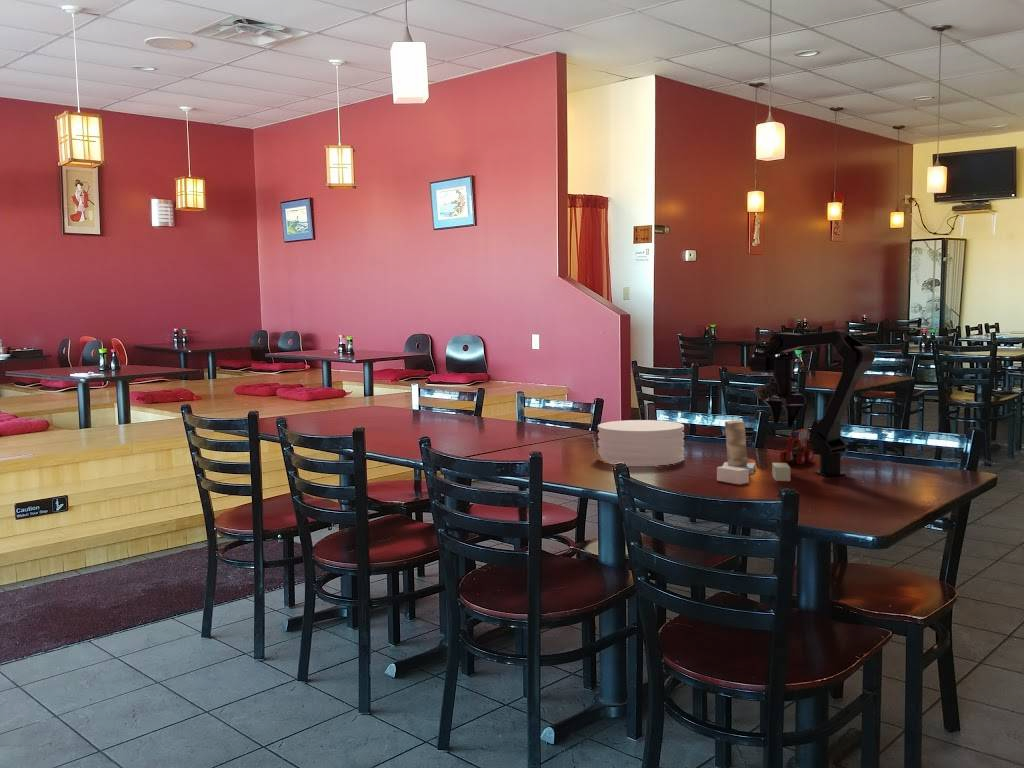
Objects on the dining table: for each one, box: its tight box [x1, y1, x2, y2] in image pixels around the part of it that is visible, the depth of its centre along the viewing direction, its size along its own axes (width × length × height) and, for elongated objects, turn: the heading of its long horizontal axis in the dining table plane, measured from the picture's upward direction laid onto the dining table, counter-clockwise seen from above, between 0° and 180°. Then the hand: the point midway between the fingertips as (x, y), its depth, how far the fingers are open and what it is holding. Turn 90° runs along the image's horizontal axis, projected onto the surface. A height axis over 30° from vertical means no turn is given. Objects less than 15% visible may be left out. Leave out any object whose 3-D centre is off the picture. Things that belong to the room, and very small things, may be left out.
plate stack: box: [597, 419, 685, 467], centre depth 290 cm, size 28×28×12 cm
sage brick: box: [771, 462, 791, 482], centre depth 253 cm, size 8×4×4 cm, turn 171°
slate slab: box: [722, 461, 756, 475], centre depth 266 cm, size 9×9×2 cm
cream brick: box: [716, 465, 750, 485], centre depth 250 cm, size 8×4×4 cm, turn 37°
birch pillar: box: [724, 419, 748, 466], centre depth 265 cm, size 4×4×13 cm
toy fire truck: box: [779, 428, 814, 465], centre depth 278 cm, size 7×12×10 cm, turn 136°
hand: (782, 425), depth 269 cm, fingers open, 9 cm apart
